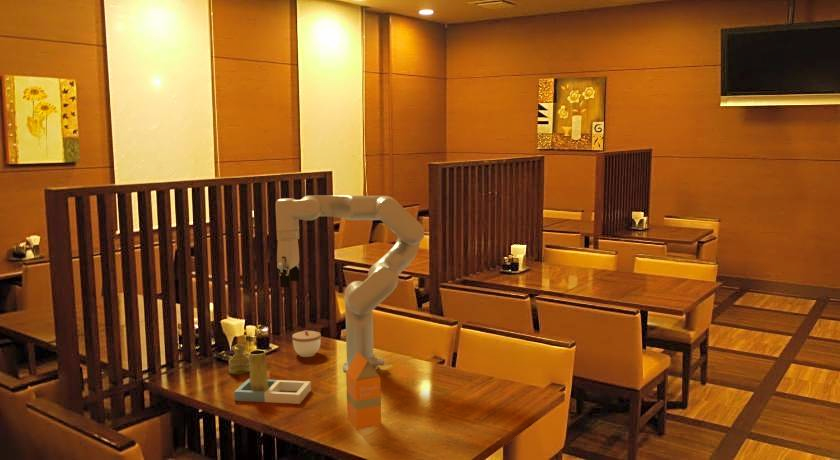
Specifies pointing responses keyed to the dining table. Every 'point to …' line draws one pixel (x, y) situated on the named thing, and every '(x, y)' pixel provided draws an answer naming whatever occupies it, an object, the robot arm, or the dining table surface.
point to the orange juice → (363, 394)
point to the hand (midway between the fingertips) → (290, 283)
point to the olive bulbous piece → (239, 361)
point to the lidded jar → (306, 342)
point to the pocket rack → (275, 392)
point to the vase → (258, 370)
